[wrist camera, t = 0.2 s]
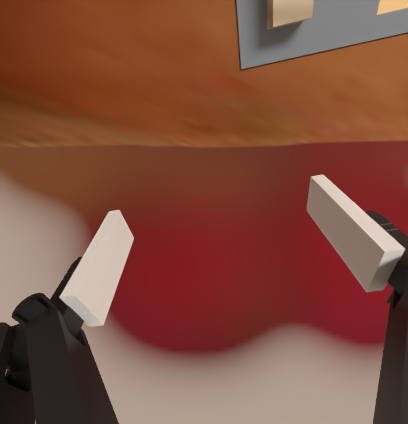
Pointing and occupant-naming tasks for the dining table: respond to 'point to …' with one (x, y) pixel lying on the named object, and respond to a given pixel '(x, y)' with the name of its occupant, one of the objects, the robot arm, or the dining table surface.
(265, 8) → the push mat
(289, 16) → the t block
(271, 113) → the dining table surface
